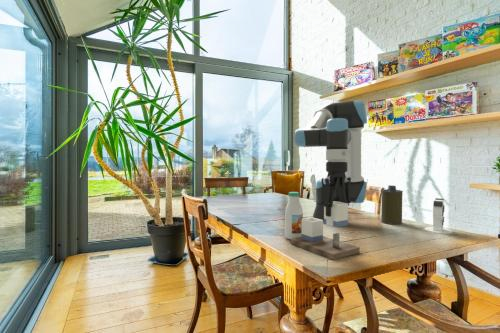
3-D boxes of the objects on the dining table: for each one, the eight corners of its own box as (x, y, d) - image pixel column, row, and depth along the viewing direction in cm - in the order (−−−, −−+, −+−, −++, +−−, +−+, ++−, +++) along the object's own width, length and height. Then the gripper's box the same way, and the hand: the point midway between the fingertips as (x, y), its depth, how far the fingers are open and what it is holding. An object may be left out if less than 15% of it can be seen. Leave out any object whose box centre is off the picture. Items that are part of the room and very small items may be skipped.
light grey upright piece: (452, 235, 128) (452, 202, 127) (422, 231, 135) (423, 200, 134) (452, 229, 137) (453, 199, 137) (425, 226, 144) (425, 197, 144)
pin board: (290, 243, 115) (290, 226, 115) (315, 238, 123) (315, 222, 123) (333, 260, 97) (334, 239, 97) (359, 252, 104) (359, 233, 104)
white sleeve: (336, 227, 100) (337, 204, 100) (323, 224, 105) (324, 202, 105) (347, 225, 104) (348, 203, 103) (334, 222, 109) (335, 201, 108)
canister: (405, 225, 147) (405, 186, 146) (383, 224, 149) (384, 186, 148) (398, 220, 158) (399, 184, 157) (378, 219, 160) (379, 184, 159)
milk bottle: (284, 239, 121) (284, 193, 120) (285, 235, 128) (285, 191, 128) (303, 240, 120) (303, 193, 119) (302, 235, 127) (302, 191, 127)
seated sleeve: (301, 238, 116) (301, 219, 115) (312, 236, 119) (312, 217, 119) (312, 242, 111) (312, 221, 110) (322, 239, 114) (323, 220, 114)
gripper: (326, 161, 95) (326, 229, 96) (361, 161, 106) (361, 222, 106) (310, 161, 102) (310, 225, 102) (345, 161, 112) (344, 219, 113)
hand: (336, 223), depth 104 cm, fingers closed on white sleeve, 6 cm apart
